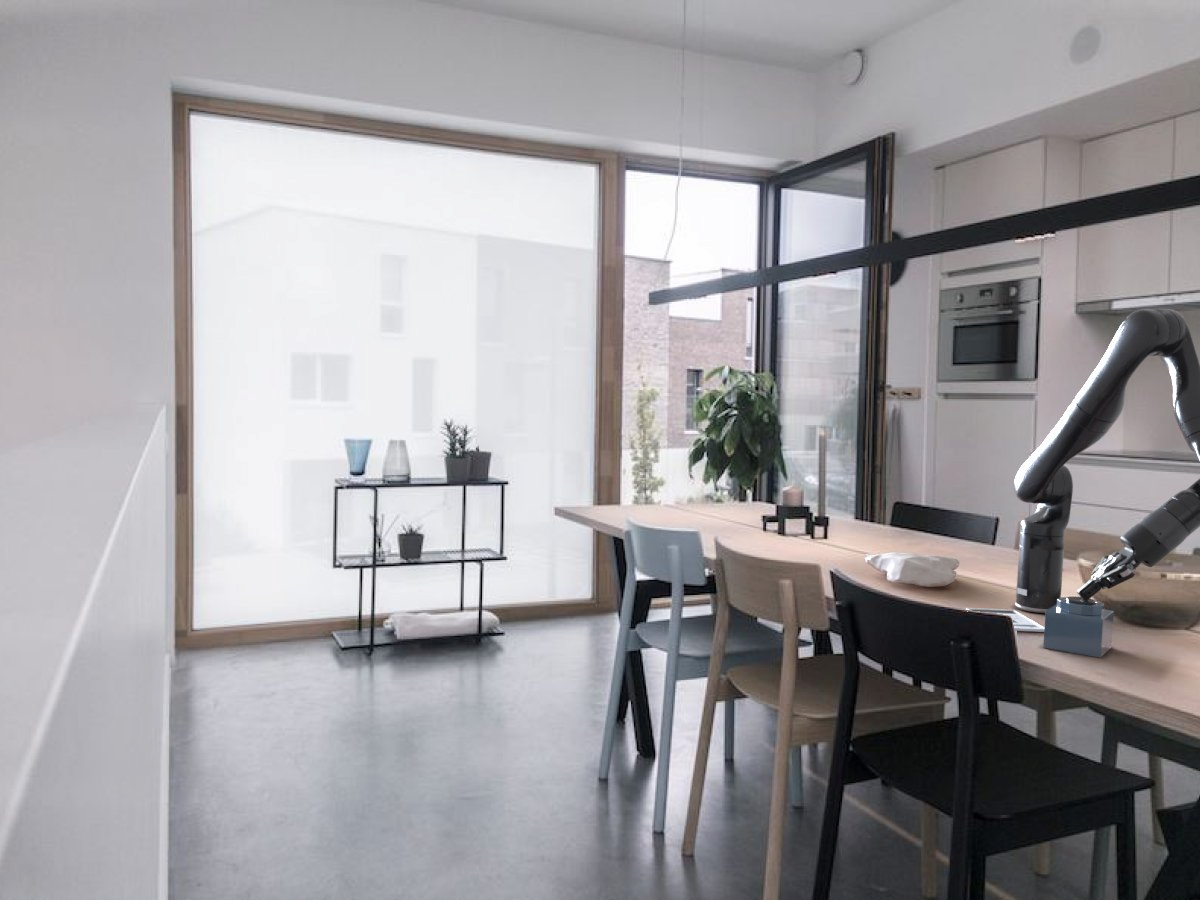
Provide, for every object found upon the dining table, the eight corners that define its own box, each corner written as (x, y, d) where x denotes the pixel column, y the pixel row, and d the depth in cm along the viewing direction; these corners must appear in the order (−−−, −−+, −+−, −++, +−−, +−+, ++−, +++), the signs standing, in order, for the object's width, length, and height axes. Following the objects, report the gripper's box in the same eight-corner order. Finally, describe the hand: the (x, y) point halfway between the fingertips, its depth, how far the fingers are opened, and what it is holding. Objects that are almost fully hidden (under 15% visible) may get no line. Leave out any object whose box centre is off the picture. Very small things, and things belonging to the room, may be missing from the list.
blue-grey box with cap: (1056, 638, 198) (1059, 593, 197) (1111, 647, 192) (1114, 601, 191) (1043, 647, 190) (1046, 601, 189) (1100, 657, 184) (1103, 609, 183)
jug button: (1069, 604, 194) (1069, 595, 194) (1097, 608, 191) (1097, 599, 191) (1062, 608, 190) (1063, 599, 190) (1091, 612, 187) (1092, 603, 187)
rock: (877, 586, 243) (859, 573, 273) (975, 592, 241) (946, 578, 270) (878, 554, 243) (860, 545, 273) (976, 559, 241) (947, 550, 271)
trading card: (1048, 632, 202) (1014, 612, 220) (1048, 629, 202) (1014, 609, 220) (995, 630, 203) (965, 610, 221) (995, 627, 203) (965, 607, 221)
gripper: (1129, 517, 194) (1058, 575, 197) (1152, 526, 181) (1075, 588, 184) (1157, 546, 193) (1085, 604, 196) (1182, 557, 180) (1105, 618, 183)
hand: (1080, 596), depth 190 cm, fingers closed
